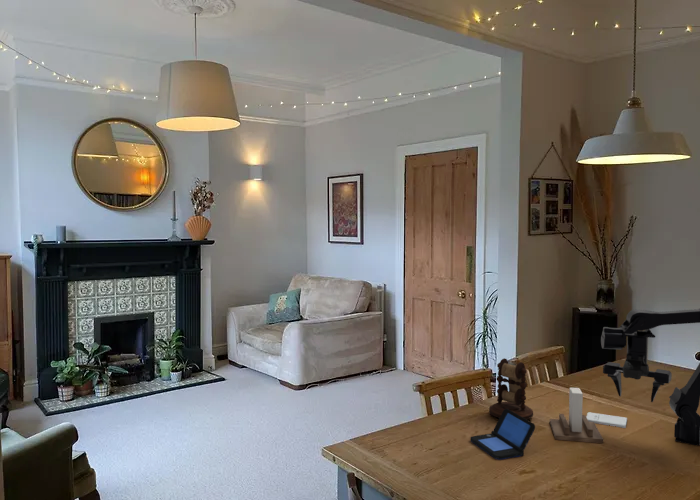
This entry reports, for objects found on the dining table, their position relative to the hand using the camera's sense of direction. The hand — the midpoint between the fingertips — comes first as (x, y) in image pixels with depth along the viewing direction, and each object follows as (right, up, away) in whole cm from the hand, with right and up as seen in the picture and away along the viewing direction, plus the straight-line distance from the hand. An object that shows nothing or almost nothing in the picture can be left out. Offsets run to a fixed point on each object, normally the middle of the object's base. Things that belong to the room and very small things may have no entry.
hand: (635, 399), depth 180 cm
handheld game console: (-44, -13, -7) cm, 47 cm away
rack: (-18, -12, +4) cm, 22 cm away
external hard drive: (-3, -12, +14) cm, 19 cm away
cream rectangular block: (-18, -11, +4) cm, 21 cm away
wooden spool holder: (-34, -11, +19) cm, 41 cm away
